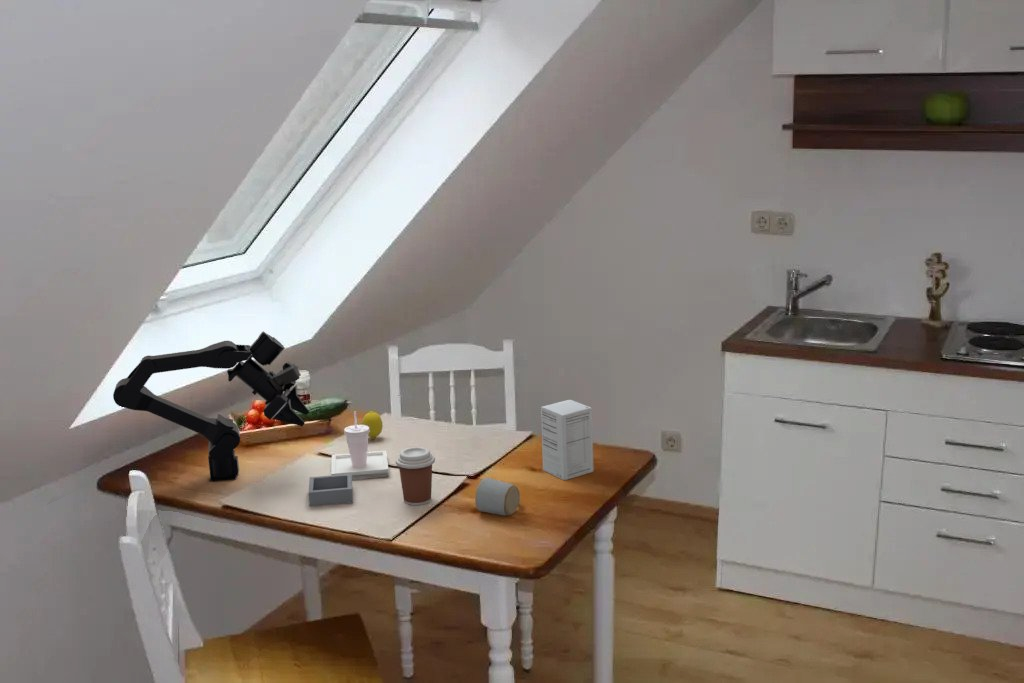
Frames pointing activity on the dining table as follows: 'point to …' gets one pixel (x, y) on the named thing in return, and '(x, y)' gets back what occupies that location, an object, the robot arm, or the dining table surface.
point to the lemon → (373, 424)
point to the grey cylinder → (497, 497)
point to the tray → (373, 469)
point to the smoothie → (357, 443)
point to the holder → (330, 490)
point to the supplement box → (567, 439)
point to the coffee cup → (416, 475)
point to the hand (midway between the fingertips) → (305, 419)
